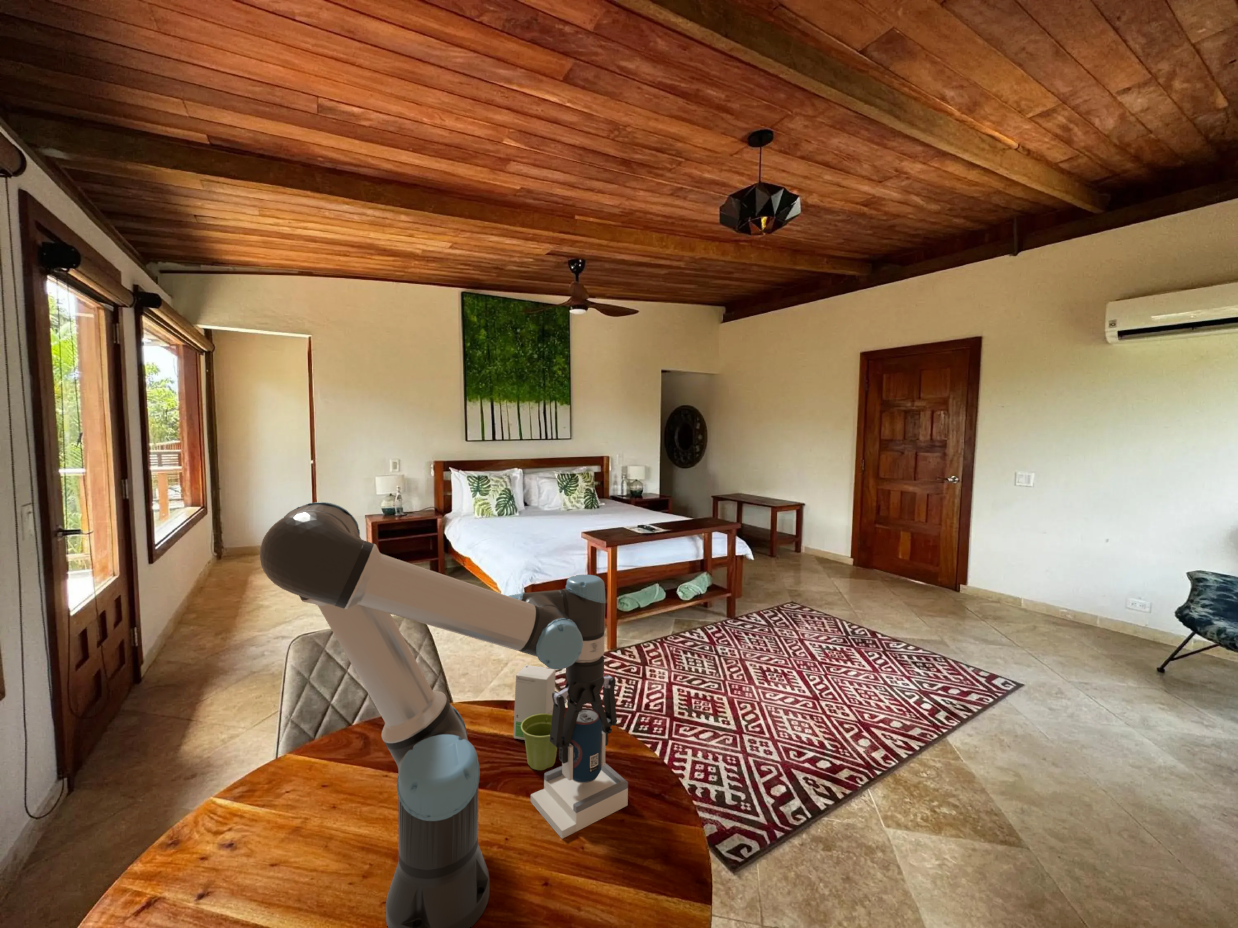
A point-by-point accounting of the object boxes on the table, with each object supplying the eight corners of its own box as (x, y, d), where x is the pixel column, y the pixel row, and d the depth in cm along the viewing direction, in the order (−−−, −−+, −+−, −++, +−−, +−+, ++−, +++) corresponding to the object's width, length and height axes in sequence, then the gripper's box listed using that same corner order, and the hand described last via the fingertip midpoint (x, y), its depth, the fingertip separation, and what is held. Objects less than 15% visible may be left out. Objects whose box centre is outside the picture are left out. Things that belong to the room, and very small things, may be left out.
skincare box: (512, 738, 127) (513, 675, 126) (523, 724, 133) (524, 663, 132) (545, 743, 125) (546, 679, 124) (555, 728, 131) (556, 667, 130)
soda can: (559, 771, 105) (560, 713, 105) (588, 758, 110) (588, 702, 109) (579, 790, 100) (579, 728, 99) (608, 776, 104) (609, 716, 104)
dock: (561, 838, 95) (562, 813, 95) (530, 801, 105) (530, 778, 105) (627, 805, 104) (628, 782, 104) (593, 773, 114) (593, 752, 114)
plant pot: (566, 751, 122) (567, 714, 121) (558, 777, 113) (558, 737, 112) (527, 748, 123) (527, 711, 122) (515, 773, 113) (515, 734, 113)
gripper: (550, 675, 95) (549, 799, 96) (636, 649, 107) (634, 760, 108) (530, 660, 101) (529, 777, 102) (614, 638, 113) (613, 743, 114)
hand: (583, 768), depth 105 cm, fingers closed on soda can, 7 cm apart
